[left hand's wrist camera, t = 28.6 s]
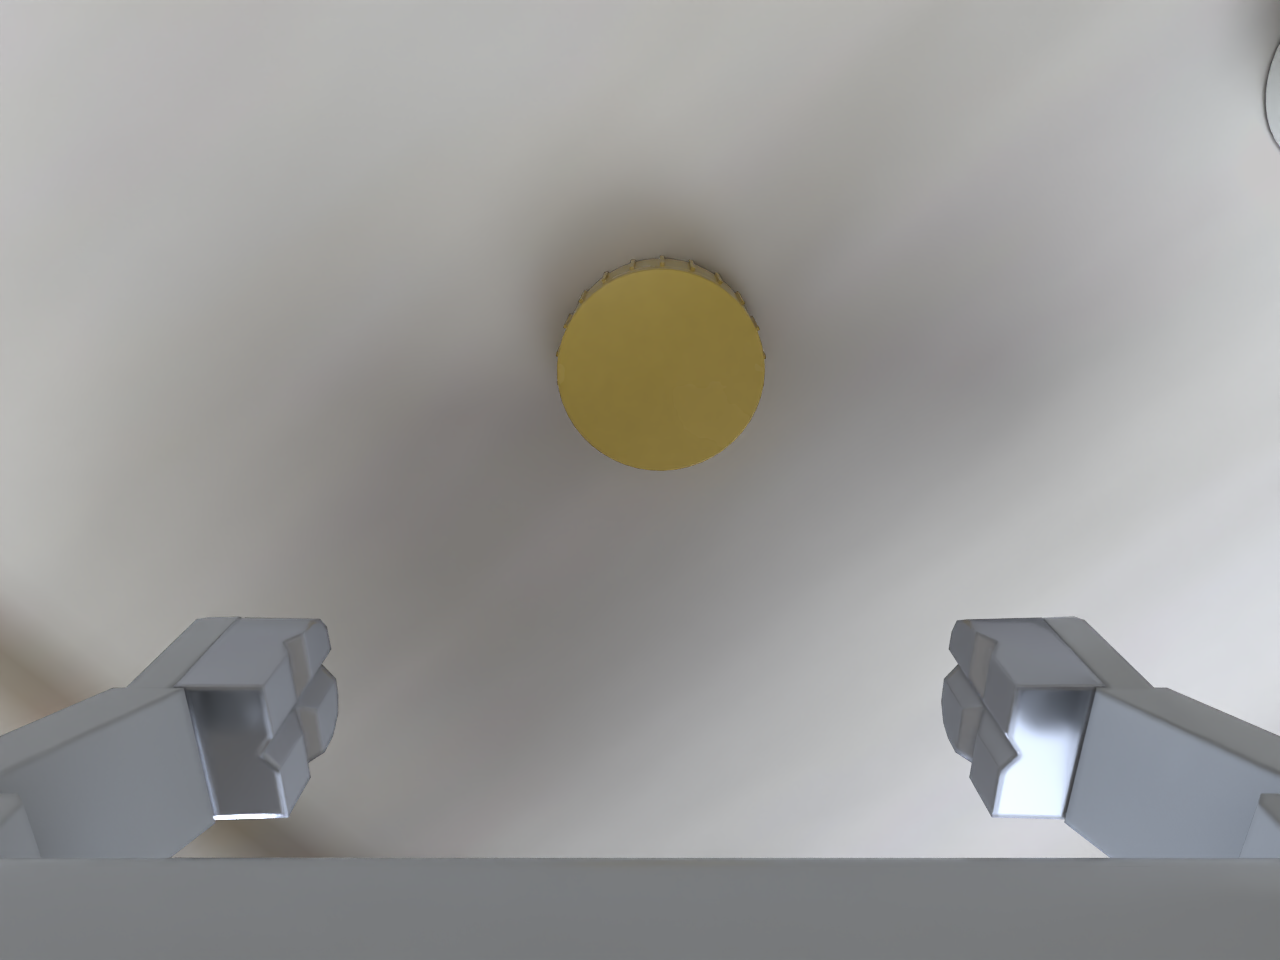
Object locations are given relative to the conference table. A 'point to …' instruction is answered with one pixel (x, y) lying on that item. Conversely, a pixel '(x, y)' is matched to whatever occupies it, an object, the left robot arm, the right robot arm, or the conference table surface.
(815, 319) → the conference table surface
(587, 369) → the lid
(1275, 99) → the jar
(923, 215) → the conference table surface
